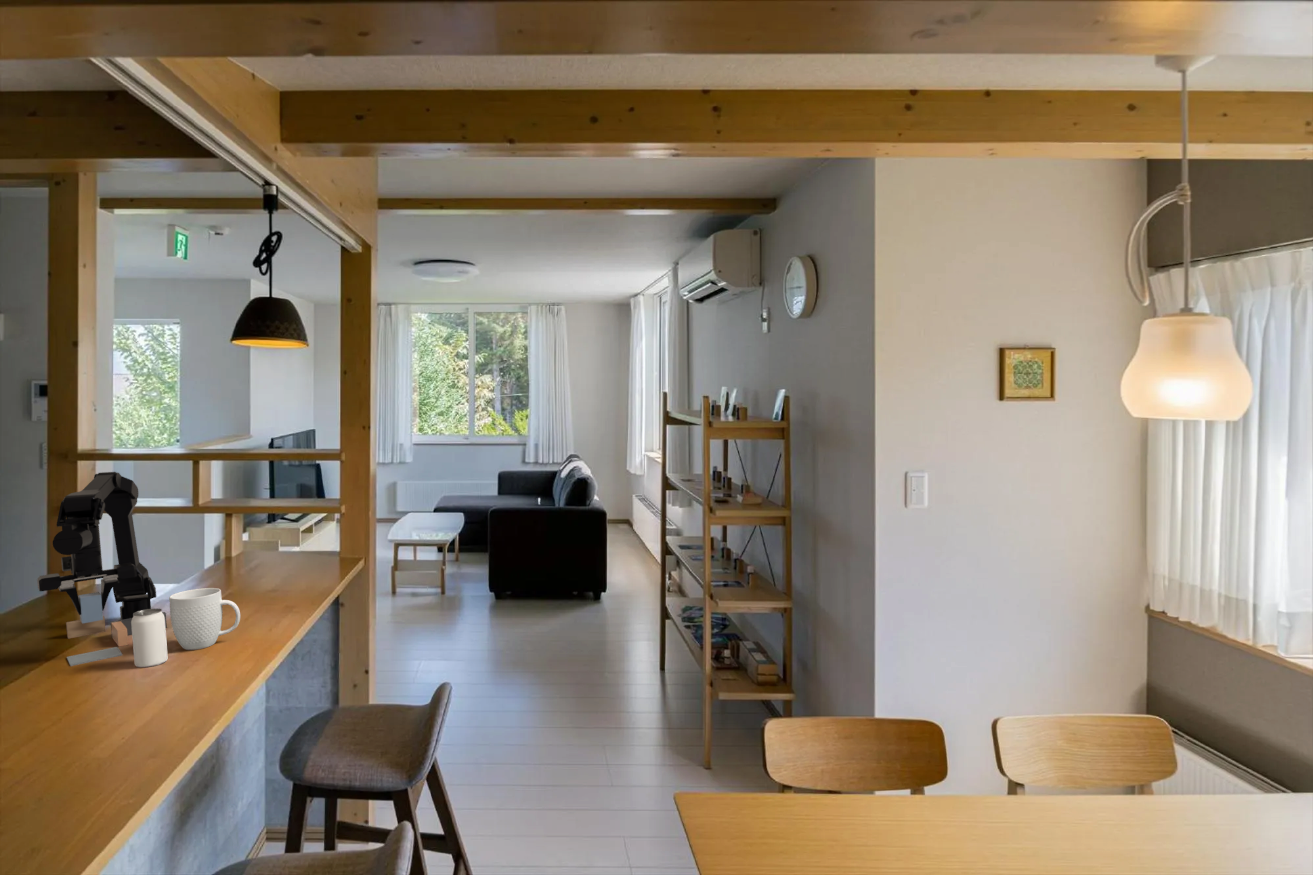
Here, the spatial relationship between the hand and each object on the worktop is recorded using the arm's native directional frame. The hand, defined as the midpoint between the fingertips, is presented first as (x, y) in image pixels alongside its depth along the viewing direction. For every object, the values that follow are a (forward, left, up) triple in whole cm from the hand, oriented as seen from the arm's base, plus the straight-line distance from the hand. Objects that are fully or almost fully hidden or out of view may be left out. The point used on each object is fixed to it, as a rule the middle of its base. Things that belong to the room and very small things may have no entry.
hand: (91, 612), depth 188 cm
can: (-9, +16, -11) cm, 21 cm away
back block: (-1, -25, -11) cm, 28 cm away
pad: (0, 0, -11) cm, 11 cm away
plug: (0, 0, -2) cm, 2 cm away
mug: (-21, +10, -11) cm, 26 cm away
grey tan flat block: (-11, -11, -11) cm, 19 cm away
